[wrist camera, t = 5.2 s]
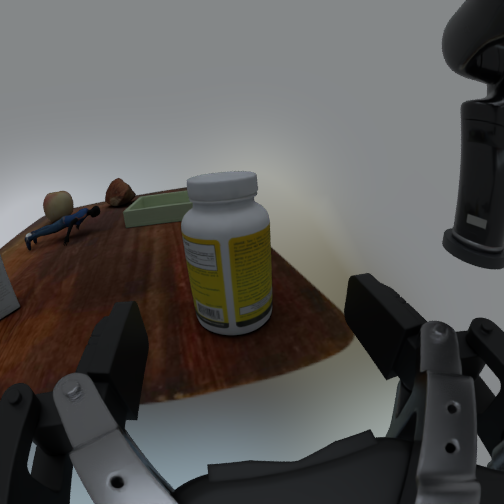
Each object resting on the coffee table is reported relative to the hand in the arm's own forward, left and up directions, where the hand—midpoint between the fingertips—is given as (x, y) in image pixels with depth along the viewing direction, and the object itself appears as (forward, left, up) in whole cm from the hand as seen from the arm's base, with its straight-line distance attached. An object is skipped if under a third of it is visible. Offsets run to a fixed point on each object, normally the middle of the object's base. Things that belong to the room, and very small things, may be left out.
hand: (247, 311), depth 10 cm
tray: (+10, -46, -7) cm, 48 cm away
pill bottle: (0, -10, -8) cm, 13 cm away
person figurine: (+31, -38, -8) cm, 50 cm away
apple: (+42, -56, -8) cm, 71 cm away
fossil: (+26, -64, -8) cm, 70 cm away
